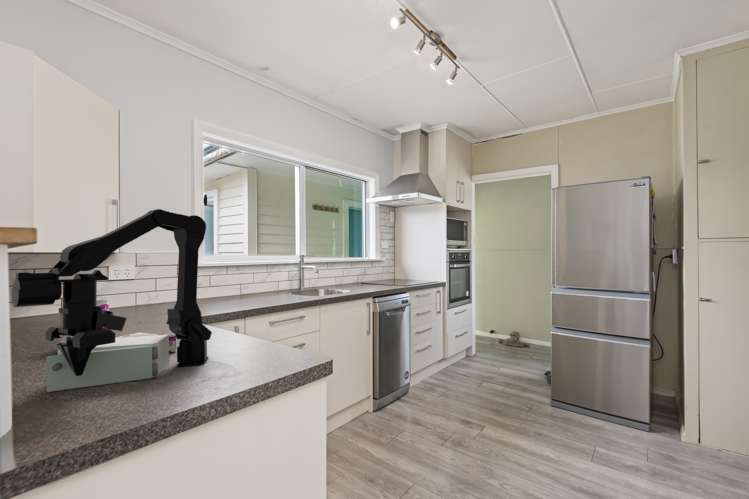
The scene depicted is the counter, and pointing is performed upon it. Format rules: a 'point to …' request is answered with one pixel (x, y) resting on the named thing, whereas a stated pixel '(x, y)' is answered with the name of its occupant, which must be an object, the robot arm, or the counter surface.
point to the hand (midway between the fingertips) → (79, 375)
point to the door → (103, 368)
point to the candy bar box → (171, 338)
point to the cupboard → (155, 340)
